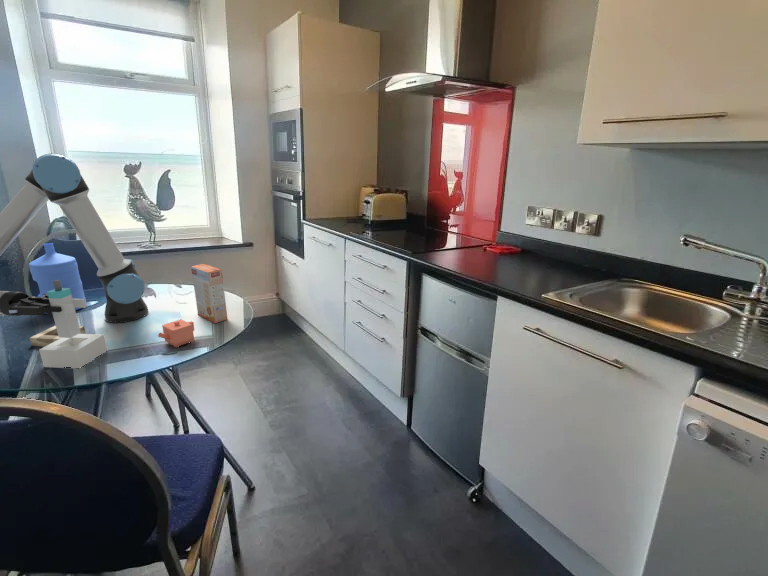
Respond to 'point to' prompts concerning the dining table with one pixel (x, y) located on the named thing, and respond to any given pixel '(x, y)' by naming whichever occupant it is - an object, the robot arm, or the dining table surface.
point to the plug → (63, 321)
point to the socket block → (73, 351)
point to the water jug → (56, 272)
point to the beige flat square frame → (49, 336)
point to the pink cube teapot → (178, 332)
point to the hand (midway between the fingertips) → (78, 306)
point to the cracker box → (209, 292)
